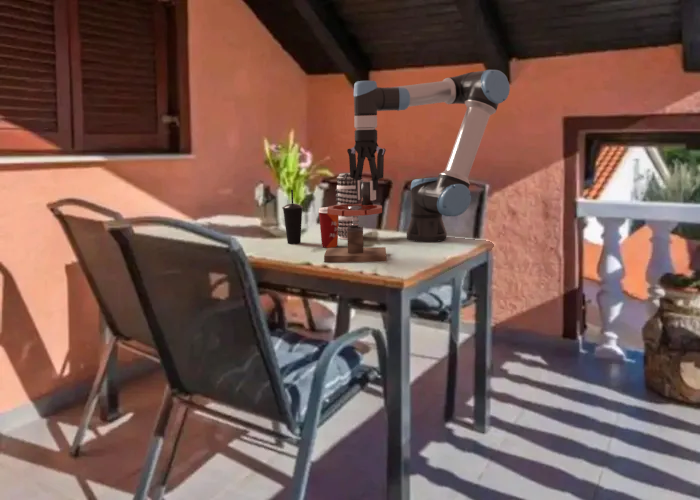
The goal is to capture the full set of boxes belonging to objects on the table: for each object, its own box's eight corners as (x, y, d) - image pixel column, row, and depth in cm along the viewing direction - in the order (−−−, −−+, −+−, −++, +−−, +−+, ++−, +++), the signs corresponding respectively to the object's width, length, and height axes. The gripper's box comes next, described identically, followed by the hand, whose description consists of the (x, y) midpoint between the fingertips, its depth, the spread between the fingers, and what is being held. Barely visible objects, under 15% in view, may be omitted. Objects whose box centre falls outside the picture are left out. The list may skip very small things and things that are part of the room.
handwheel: (381, 224, 229) (381, 181, 226) (382, 233, 212) (382, 186, 209) (330, 225, 230) (329, 182, 227) (326, 234, 212) (325, 187, 210)
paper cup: (337, 248, 239) (336, 209, 236) (316, 248, 240) (315, 209, 238) (342, 244, 246) (341, 206, 244) (322, 244, 248) (321, 206, 245)
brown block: (385, 253, 229) (385, 224, 227) (386, 261, 215) (386, 230, 213) (327, 253, 230) (326, 224, 228) (324, 262, 216) (323, 231, 214)
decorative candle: (343, 240, 255) (342, 174, 250) (332, 237, 263) (330, 173, 258) (364, 238, 259) (363, 173, 254) (352, 235, 267) (351, 172, 262)
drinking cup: (285, 241, 256) (283, 188, 252) (305, 241, 255) (303, 188, 252) (282, 244, 248) (280, 191, 244) (303, 244, 248) (301, 190, 244)
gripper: (394, 128, 220) (394, 199, 225) (349, 129, 229) (350, 197, 233) (383, 128, 214) (384, 201, 218) (337, 129, 222) (339, 199, 227)
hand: (367, 199), depth 226 cm, fingers closed on handwheel, 4 cm apart
